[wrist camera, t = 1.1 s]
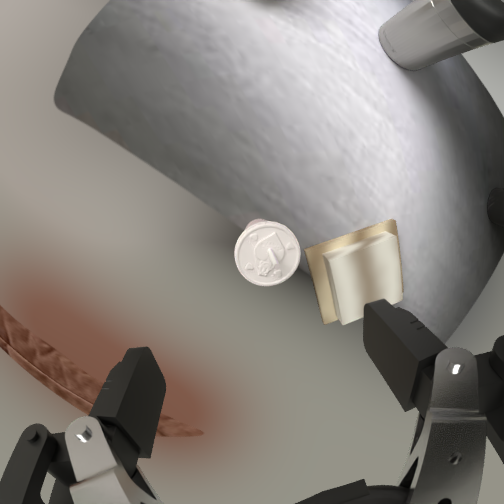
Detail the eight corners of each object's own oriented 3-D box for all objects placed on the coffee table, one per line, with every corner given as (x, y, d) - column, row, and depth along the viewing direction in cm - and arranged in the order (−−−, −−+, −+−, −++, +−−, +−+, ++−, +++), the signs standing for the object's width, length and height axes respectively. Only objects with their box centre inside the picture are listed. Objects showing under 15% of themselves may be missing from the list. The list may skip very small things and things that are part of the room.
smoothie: (289, 215, 35) (324, 245, 21) (275, 261, 37) (299, 314, 23) (241, 202, 34) (246, 224, 21) (228, 250, 36) (226, 299, 22)
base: (391, 218, 36) (407, 224, 32) (399, 289, 39) (413, 300, 35) (303, 249, 36) (312, 259, 32) (322, 320, 40) (330, 336, 36)
